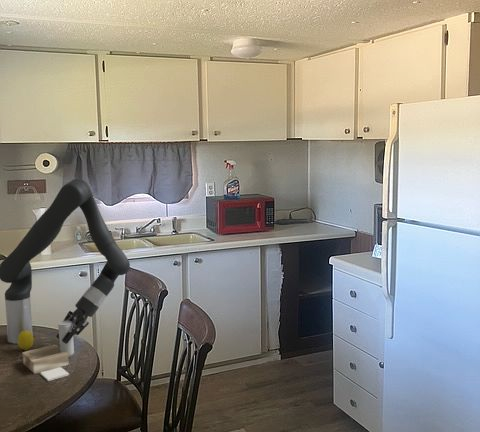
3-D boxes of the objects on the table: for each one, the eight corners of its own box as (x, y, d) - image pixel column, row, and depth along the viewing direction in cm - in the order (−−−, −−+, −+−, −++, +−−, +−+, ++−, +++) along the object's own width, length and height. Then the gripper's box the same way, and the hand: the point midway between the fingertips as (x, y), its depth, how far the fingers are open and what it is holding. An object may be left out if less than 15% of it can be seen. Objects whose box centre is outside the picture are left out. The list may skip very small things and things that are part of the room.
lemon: (15, 352, 203) (13, 331, 202) (26, 346, 208) (24, 326, 207) (26, 354, 201) (25, 333, 200) (37, 348, 206) (36, 328, 205)
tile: (40, 374, 183) (40, 372, 183) (60, 368, 188) (60, 367, 188) (48, 381, 178) (48, 379, 178) (68, 375, 183) (68, 373, 182)
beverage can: (70, 357, 194) (67, 325, 192) (57, 356, 195) (55, 324, 193) (76, 352, 199) (74, 320, 197) (64, 351, 200) (62, 320, 198)
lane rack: (22, 363, 193) (22, 352, 192) (56, 354, 200) (55, 344, 200) (34, 373, 184) (33, 362, 183) (68, 364, 191) (68, 353, 191)
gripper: (75, 291, 204) (46, 329, 198) (92, 299, 193) (61, 340, 187) (90, 302, 208) (61, 340, 202) (106, 311, 197) (76, 351, 191)
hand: (61, 340), depth 195 cm, fingers closed on beverage can, 4 cm apart
